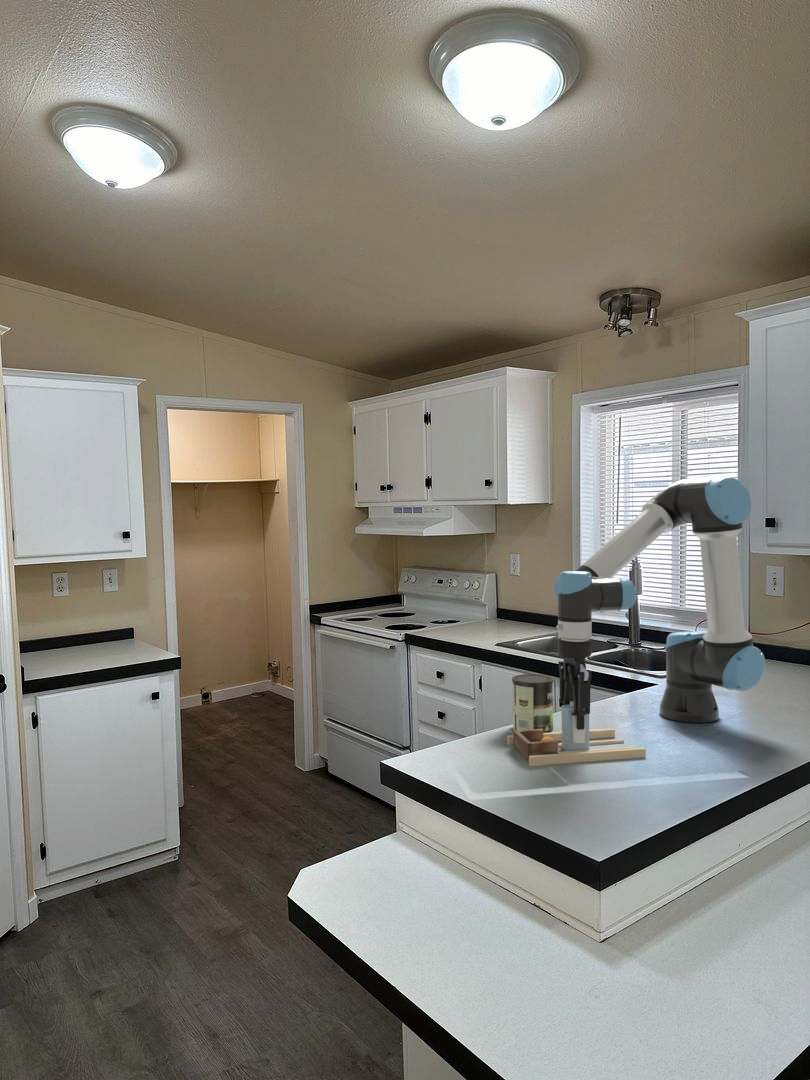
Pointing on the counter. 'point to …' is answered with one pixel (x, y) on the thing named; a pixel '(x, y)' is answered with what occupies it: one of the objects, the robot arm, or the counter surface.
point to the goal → (533, 743)
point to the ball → (547, 739)
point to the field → (584, 754)
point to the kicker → (567, 730)
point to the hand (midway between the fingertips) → (574, 739)
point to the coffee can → (533, 702)
